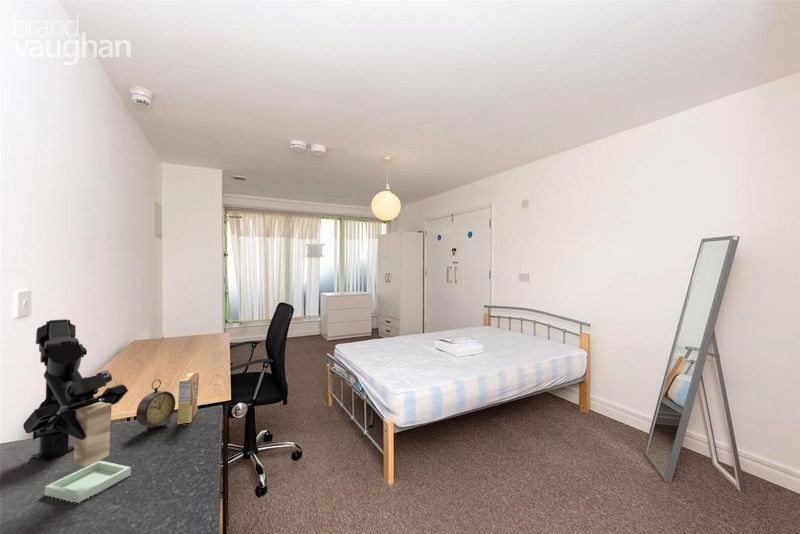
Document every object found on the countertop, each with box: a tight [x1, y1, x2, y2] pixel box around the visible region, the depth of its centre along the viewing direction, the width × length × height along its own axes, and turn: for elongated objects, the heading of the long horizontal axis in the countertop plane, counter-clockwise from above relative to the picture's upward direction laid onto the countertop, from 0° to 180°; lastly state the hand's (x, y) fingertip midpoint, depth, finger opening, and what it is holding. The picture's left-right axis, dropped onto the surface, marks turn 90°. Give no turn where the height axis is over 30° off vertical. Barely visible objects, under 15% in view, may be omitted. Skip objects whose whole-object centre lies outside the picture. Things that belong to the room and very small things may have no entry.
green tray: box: [44, 460, 132, 504], centre depth 78 cm, size 11×11×2 cm
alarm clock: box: [135, 378, 176, 433], centre depth 108 cm, size 11×5×16 cm, turn 168°
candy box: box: [176, 372, 200, 425], centre depth 115 cm, size 9×4×15 cm, turn 19°
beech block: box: [73, 402, 113, 468], centre depth 79 cm, size 4×5×13 cm
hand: (97, 433), depth 79 cm, fingers closed on beech block, 5 cm apart
